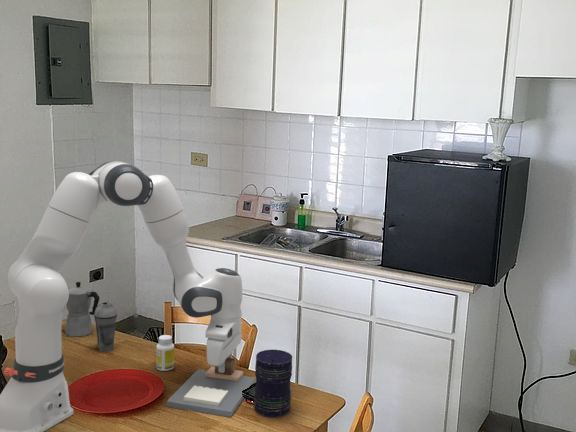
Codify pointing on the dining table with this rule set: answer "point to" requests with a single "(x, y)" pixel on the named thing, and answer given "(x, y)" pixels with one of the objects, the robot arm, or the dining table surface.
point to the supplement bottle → (165, 353)
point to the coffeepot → (80, 310)
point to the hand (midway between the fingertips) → (224, 368)
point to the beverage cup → (105, 325)
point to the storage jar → (273, 383)
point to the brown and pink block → (229, 372)
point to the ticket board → (210, 394)
